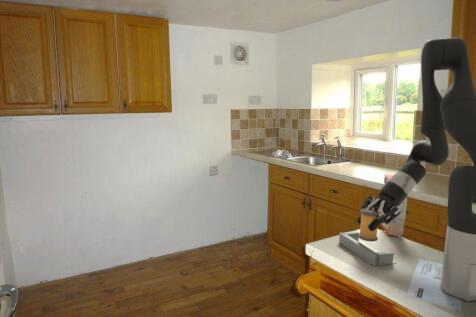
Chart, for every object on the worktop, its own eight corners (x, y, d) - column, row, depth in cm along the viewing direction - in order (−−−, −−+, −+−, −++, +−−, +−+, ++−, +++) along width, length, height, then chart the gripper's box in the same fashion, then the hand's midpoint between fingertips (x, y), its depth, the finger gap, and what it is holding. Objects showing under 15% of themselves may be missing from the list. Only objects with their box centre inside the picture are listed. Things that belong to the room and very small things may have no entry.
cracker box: (404, 237, 126) (409, 182, 123) (387, 236, 127) (392, 181, 124) (395, 224, 140) (400, 174, 136) (379, 223, 141) (384, 173, 138)
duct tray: (396, 263, 105) (397, 252, 105) (373, 266, 103) (374, 255, 102) (358, 240, 123) (359, 230, 122) (339, 242, 120) (339, 232, 120)
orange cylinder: (381, 240, 110) (384, 213, 109) (365, 242, 109) (368, 215, 107) (369, 233, 116) (371, 208, 115) (354, 235, 114) (356, 209, 113)
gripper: (377, 176, 118) (344, 212, 117) (408, 186, 105) (372, 227, 103) (388, 190, 121) (356, 225, 119) (420, 201, 107) (385, 241, 106)
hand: (364, 226), depth 111 cm, fingers closed on orange cylinder, 5 cm apart
